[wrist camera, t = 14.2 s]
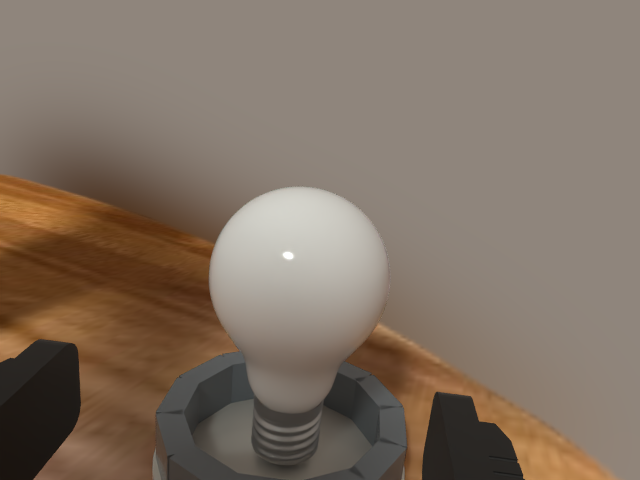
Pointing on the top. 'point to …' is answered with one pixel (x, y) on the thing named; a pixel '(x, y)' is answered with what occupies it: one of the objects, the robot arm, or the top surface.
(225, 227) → the lightbulb
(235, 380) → the bulb holder
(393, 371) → the top surface
